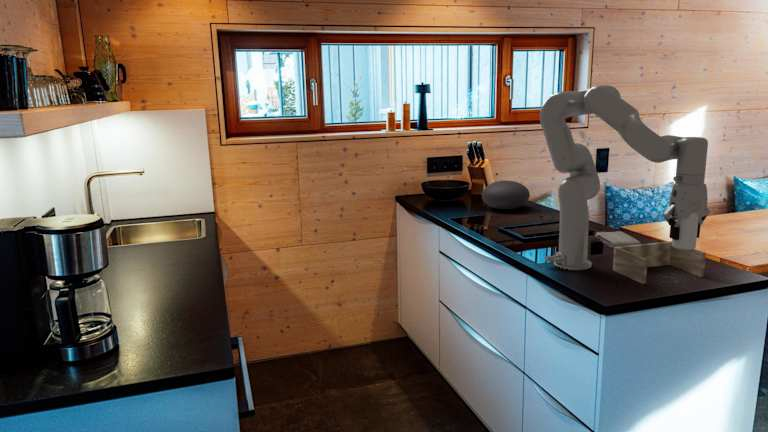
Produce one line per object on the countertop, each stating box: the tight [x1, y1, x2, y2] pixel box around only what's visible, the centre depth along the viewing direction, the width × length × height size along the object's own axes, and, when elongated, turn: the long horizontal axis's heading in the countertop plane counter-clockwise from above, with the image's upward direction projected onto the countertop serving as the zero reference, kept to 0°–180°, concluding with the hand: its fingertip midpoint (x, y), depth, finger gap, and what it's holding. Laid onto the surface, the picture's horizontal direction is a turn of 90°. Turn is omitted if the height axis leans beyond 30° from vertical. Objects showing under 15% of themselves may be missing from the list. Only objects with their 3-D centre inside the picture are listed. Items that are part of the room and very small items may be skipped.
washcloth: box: [594, 230, 642, 249], centre depth 222 cm, size 12×18×3 cm, turn 3°
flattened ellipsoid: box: [481, 179, 531, 210], centre depth 291 cm, size 25×25×15 cm
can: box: [671, 213, 699, 250], centre depth 167 cm, size 6×6×12 cm
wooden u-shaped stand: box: [612, 240, 707, 285], centre depth 182 cm, size 22×15×8 cm
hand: (684, 237), depth 168 cm, fingers closed on can, 6 cm apart
